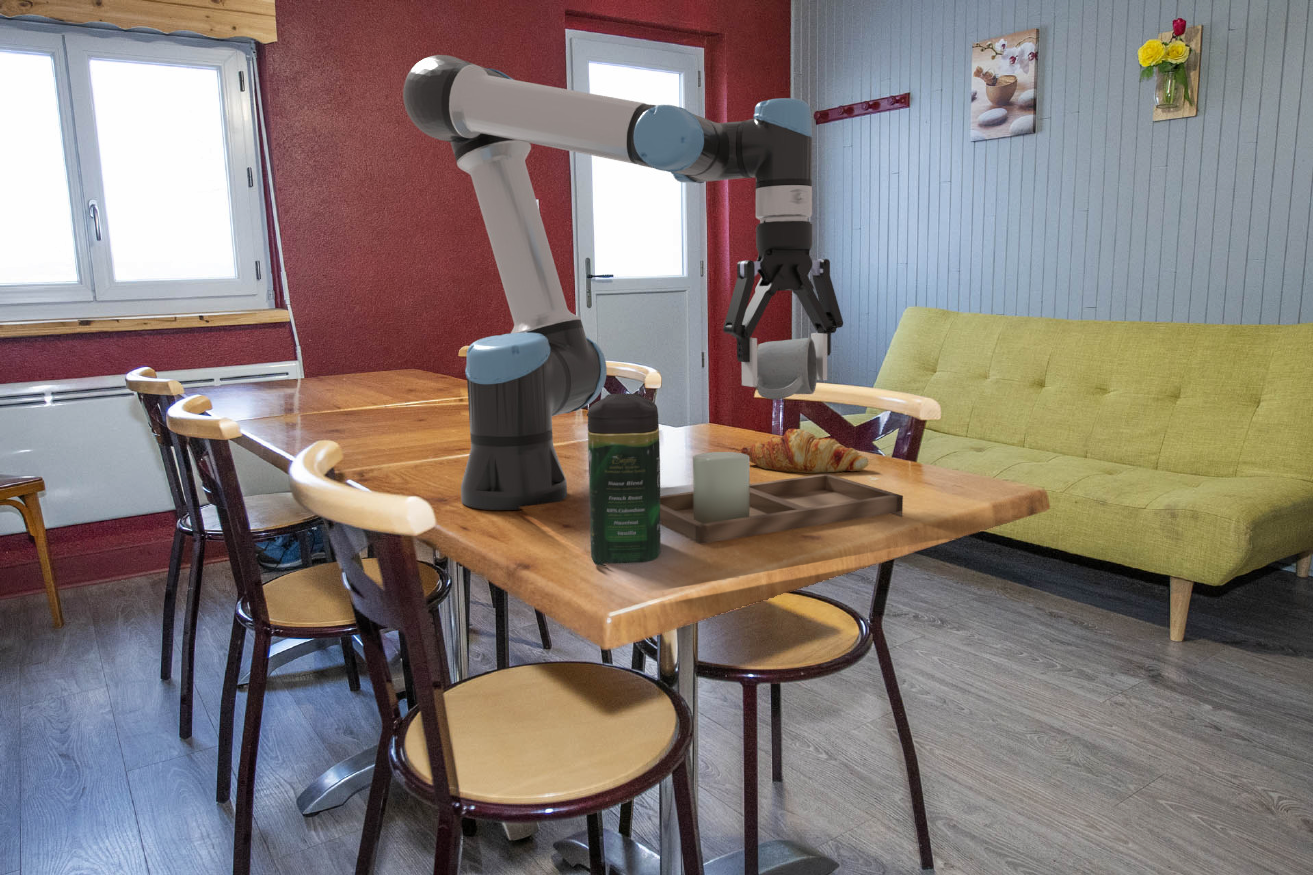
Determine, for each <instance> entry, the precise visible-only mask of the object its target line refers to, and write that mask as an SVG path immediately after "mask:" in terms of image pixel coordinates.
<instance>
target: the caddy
mask: <svg viewBox="0 0 1313 875" xmlns="http://www.w3.org/2000/svg"><path fill="white" fill-rule="evenodd" d="M903 502H904V496H903V495H901V494H898V493H895V492H891V491H888V490H884V489H881V488H878V487H874V486H871V485H868V484H864V483H860V482H857V481H853V480H850V479H847V478H843V477H840V476H837V475H833V474H830V473H823V474H822V473H821V474H815V475H808V476H807V475H806V476H800V477H793V478H785V479H779V480H778V479H777V480H769V481H764V482H754V483H750V517H744V518H737V519H730V520H724V521H717V522H711V523H704V524H703V523H700V522H698V521H696V520H694V508H693V491H688V492H681V493H680V492H679V493H674V494H665V495H660V526H663V527H664V528H667V529H669V530H671V531H673V532H675V533H676V534H678V535H680V536H682V537H684V538H686V539H688V540H690V541H692V542H694V543H697V544H699V545H703V544H709V543H710V544H711V543H716V542H720V541H721V542H723V541H729V540H733V539H735V540H736V539H741V538H747V537H753V536H758V535H759V536H760V535H764V534H765V535H766V534H770V533H771V534H772V533H777V532H783V531H790V530H797V529H802V528H808V527H814V526H820V525H826V524H834V523H838V522H840V523H841V522H845V521H852V520H858V519H863V518H869V517H875V516H883V515H890V514H891V515H894V516H898V517H900V518H903V512H904V511H903V510H904V508H903V504H904V503H903Z"/></svg>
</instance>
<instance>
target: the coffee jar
mask: <svg viewBox="0 0 1313 875" xmlns="http://www.w3.org/2000/svg"><path fill="white" fill-rule="evenodd" d="M658 409H659V408H658V407H657V404H656V403H655V402H653V401H651V400H650V399H648V398H645V397H644V396H643V395H642V394H639V393H610V394H607V395H605V397H604V398H602V399H600V400H598V401H596V402H594V403H592V404H591V405H590V407H588V412H587V414H586V416H587V450H588V451H587V452H588V453H587V454H588V457H587V458H588V486H589V487H588V489H589V490H588V491H589V493H588V494H589V515H590V516H589V524H590V525H589V526H590V527H589V531H590V532H589V534H590V535H589V536H590V538H589V539H590V558H591V560H592V562H593V563H594V564H595V565H596V566H599V567H600V566H601V567H607V565H606V564H637V563H640V564H641V563H647V562H650V561H652V562H653V561H655V560H656V559H658V558H659V556H660V554H661V534H662V533H661V524H660V496H661V455H660V454H661V448H660V426H659V411H658Z"/></svg>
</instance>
